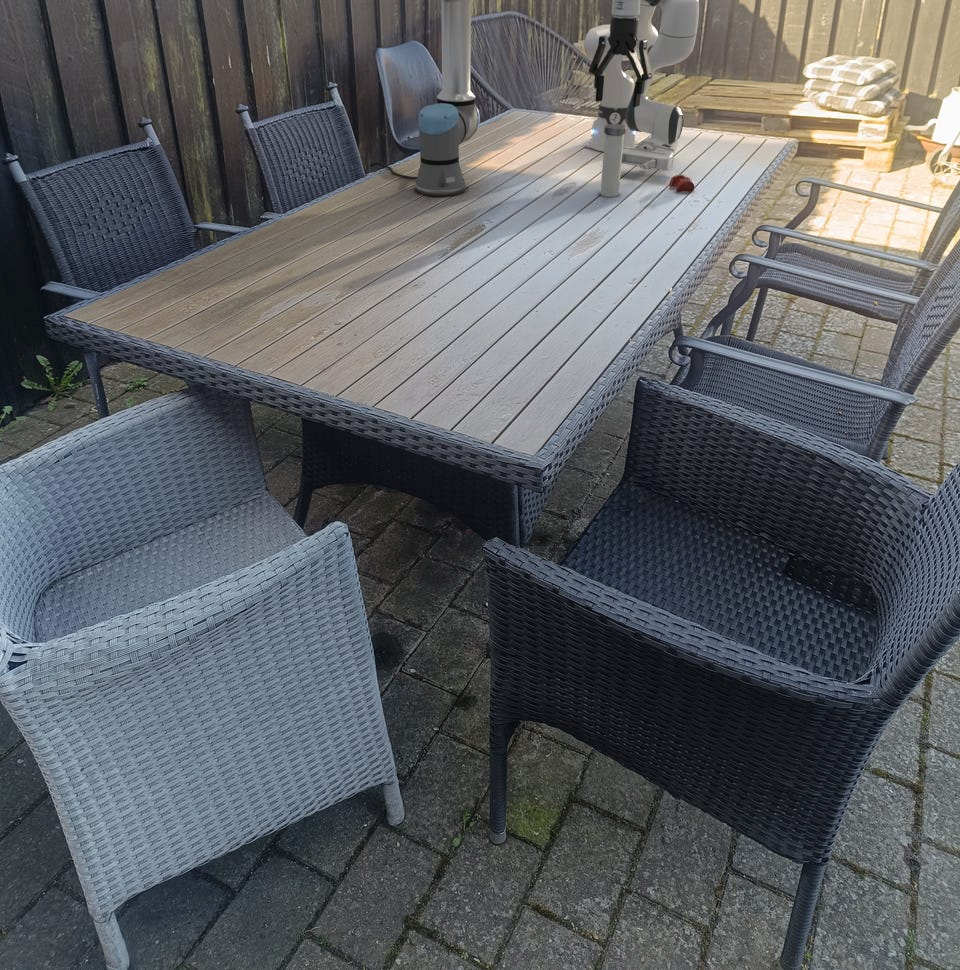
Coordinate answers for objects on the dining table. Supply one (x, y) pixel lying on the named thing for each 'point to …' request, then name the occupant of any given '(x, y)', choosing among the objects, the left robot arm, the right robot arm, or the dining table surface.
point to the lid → (615, 129)
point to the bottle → (611, 165)
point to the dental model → (681, 183)
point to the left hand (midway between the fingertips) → (617, 103)
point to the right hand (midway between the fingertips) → (630, 163)
